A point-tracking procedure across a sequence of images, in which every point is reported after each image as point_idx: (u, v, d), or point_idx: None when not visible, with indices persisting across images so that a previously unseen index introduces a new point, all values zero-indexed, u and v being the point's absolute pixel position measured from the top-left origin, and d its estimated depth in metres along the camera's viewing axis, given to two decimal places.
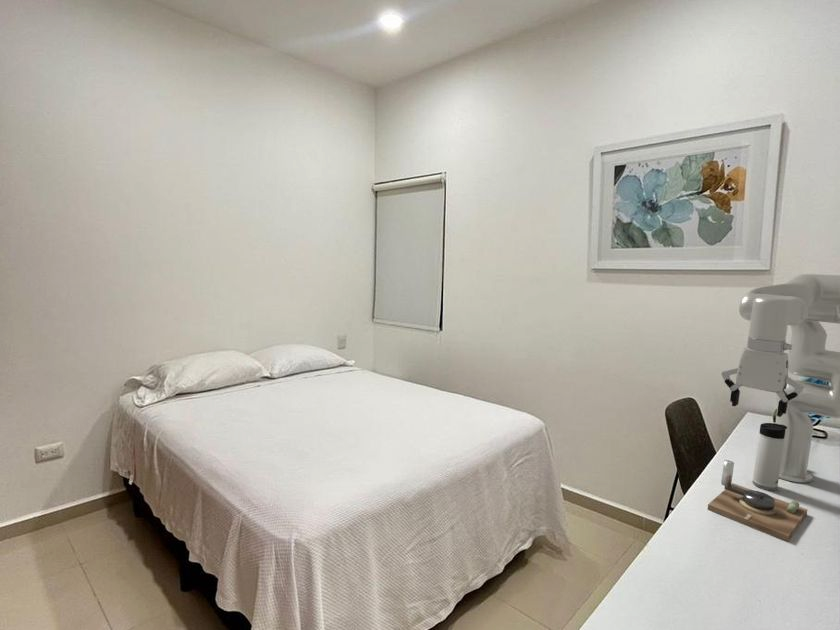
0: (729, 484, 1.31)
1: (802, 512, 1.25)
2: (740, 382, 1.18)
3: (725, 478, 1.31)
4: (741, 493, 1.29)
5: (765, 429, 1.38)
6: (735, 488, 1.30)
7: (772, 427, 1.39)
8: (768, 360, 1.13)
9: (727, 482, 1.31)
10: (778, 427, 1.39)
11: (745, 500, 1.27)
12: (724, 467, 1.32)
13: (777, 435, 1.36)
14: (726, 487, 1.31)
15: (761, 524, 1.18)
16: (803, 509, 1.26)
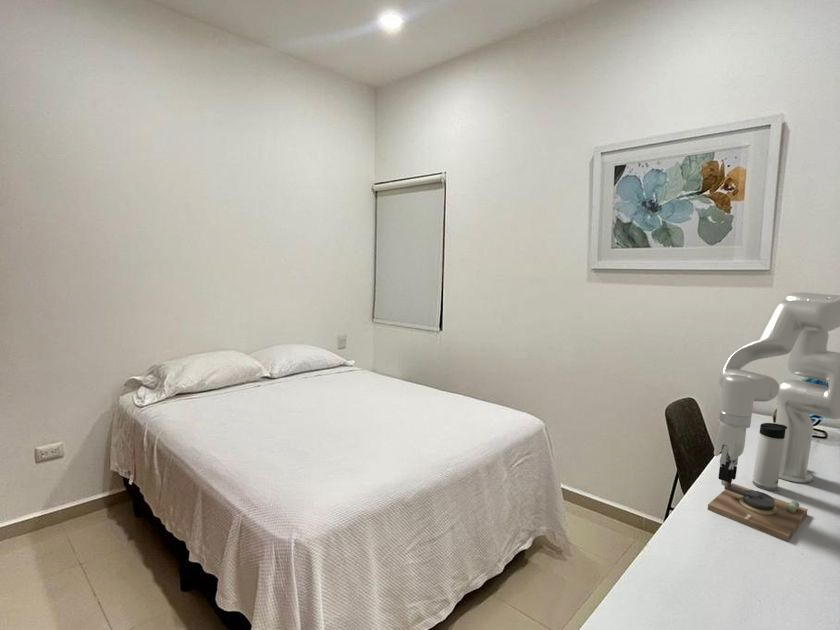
0: (729, 484, 1.31)
1: (802, 512, 1.25)
2: (733, 458, 1.27)
3: None
4: (741, 493, 1.29)
5: (765, 429, 1.38)
6: (735, 488, 1.30)
7: (772, 427, 1.39)
8: (745, 431, 1.29)
9: (727, 482, 1.31)
10: (778, 427, 1.39)
11: (745, 500, 1.27)
12: None
13: (777, 435, 1.36)
14: (726, 487, 1.31)
15: (761, 524, 1.18)
16: (803, 509, 1.26)
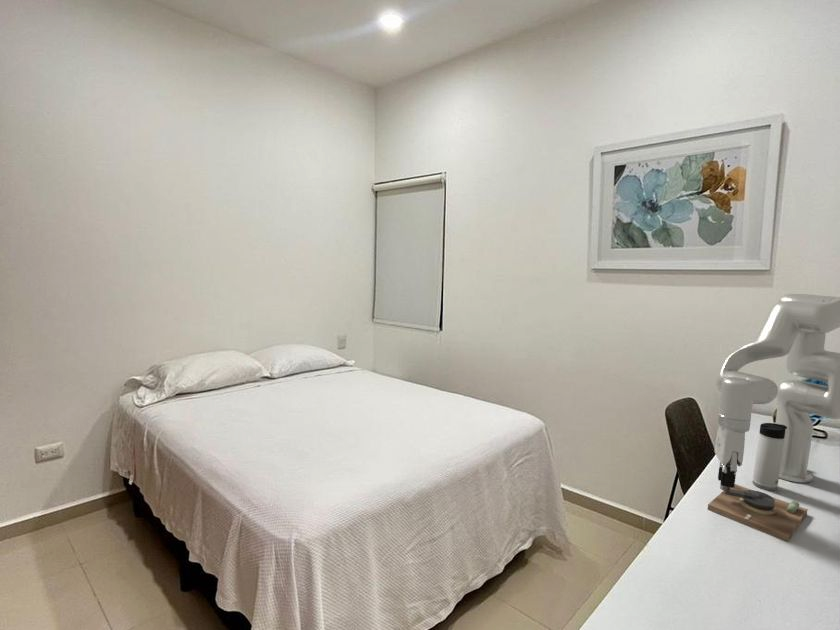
0: (729, 488, 1.29)
1: (802, 512, 1.25)
2: None
3: None
4: (742, 496, 1.27)
5: (765, 429, 1.38)
6: (735, 491, 1.28)
7: (772, 427, 1.39)
8: None
9: (728, 487, 1.28)
10: (778, 427, 1.39)
11: (750, 503, 1.25)
12: None
13: (777, 435, 1.36)
14: (727, 492, 1.29)
15: (761, 524, 1.18)
16: (803, 509, 1.26)
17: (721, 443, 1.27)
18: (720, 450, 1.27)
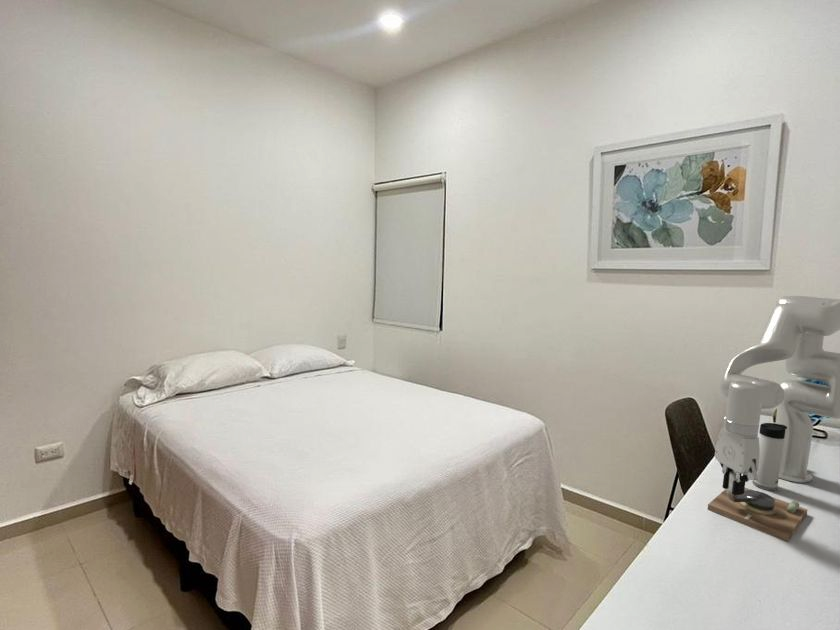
0: (737, 495, 1.25)
1: (802, 512, 1.25)
2: None
3: None
4: (748, 500, 1.25)
5: (765, 429, 1.38)
6: (740, 497, 1.26)
7: (772, 427, 1.39)
8: None
9: None
10: (778, 427, 1.39)
11: (758, 506, 1.24)
12: None
13: (777, 435, 1.36)
14: (735, 499, 1.25)
15: (761, 524, 1.18)
16: (803, 509, 1.26)
17: (736, 452, 1.21)
18: (735, 459, 1.21)
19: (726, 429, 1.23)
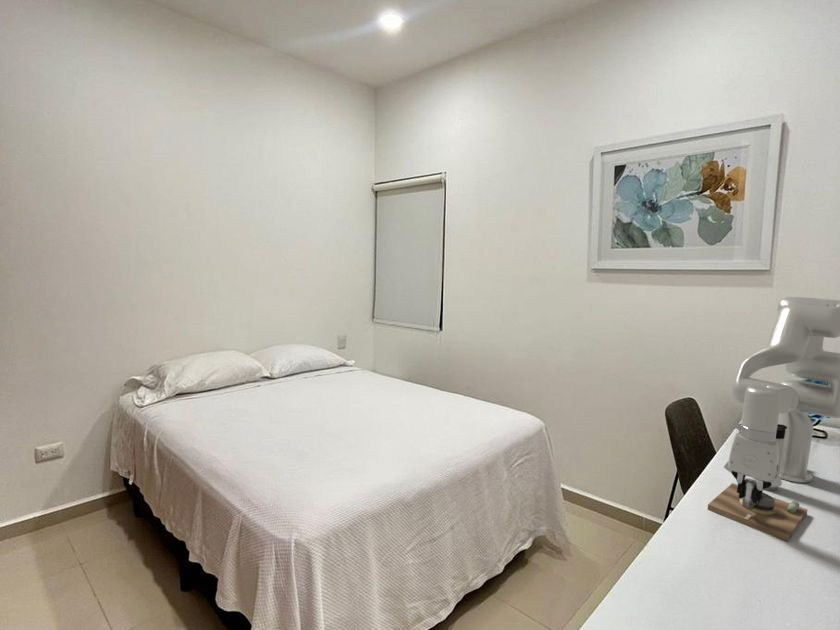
0: None
1: (802, 512, 1.25)
2: None
3: None
4: (757, 503, 1.23)
5: None
6: None
7: None
8: None
9: None
10: (778, 427, 1.39)
11: (766, 508, 1.23)
12: (753, 488, 1.20)
13: (777, 435, 1.36)
14: (752, 507, 1.21)
15: (761, 524, 1.18)
16: (803, 509, 1.26)
17: (762, 461, 1.16)
18: (761, 468, 1.16)
19: (749, 438, 1.17)
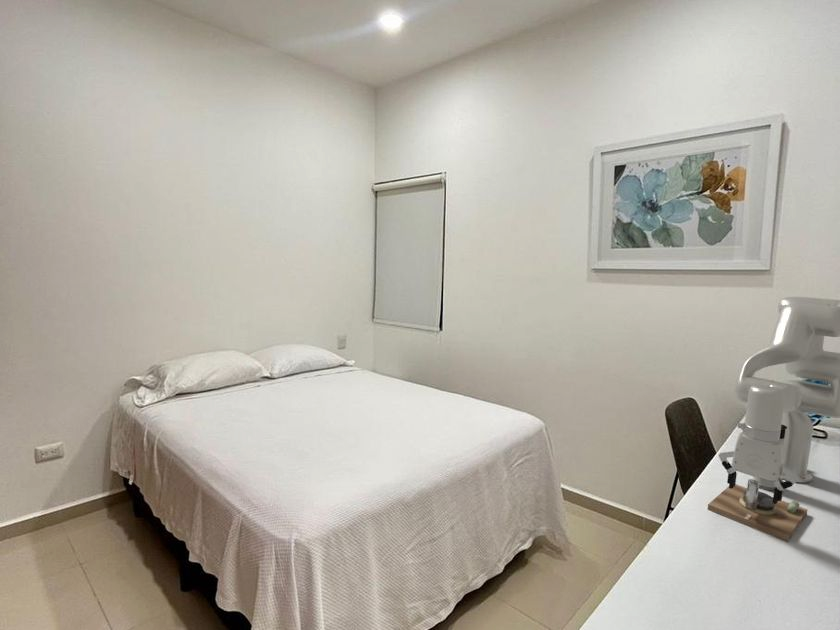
0: None
1: (802, 512, 1.25)
2: None
3: (756, 500, 1.20)
4: (759, 504, 1.23)
5: None
6: None
7: None
8: None
9: None
10: None
11: (767, 508, 1.23)
12: (756, 489, 1.19)
13: None
14: (755, 508, 1.21)
15: (761, 524, 1.18)
16: (803, 509, 1.26)
17: (767, 460, 1.15)
18: (765, 468, 1.16)
19: (753, 438, 1.17)
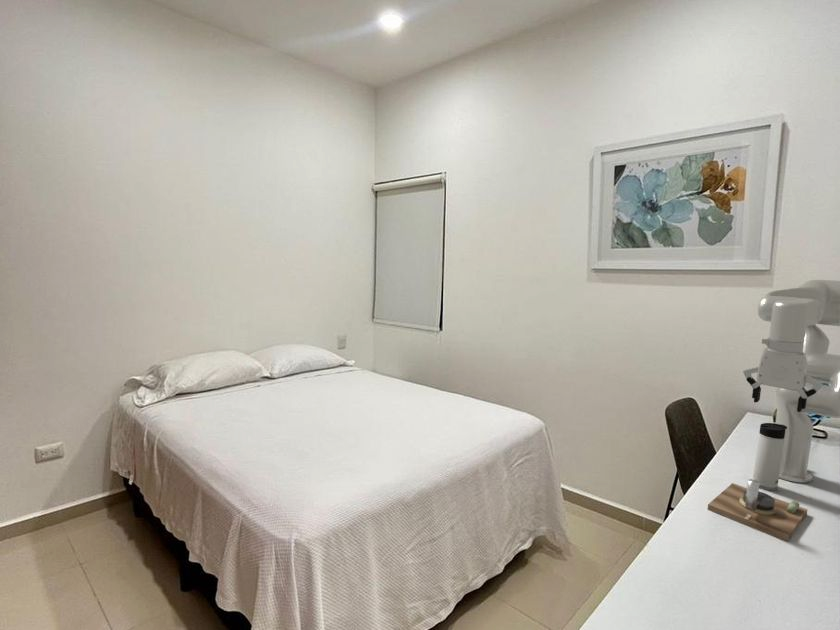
0: None
1: (802, 512, 1.25)
2: None
3: (756, 500, 1.20)
4: (759, 504, 1.23)
5: (765, 429, 1.38)
6: None
7: (772, 427, 1.39)
8: None
9: None
10: (778, 427, 1.39)
11: (767, 508, 1.23)
12: (756, 489, 1.19)
13: (777, 435, 1.36)
14: (755, 508, 1.21)
15: (761, 524, 1.18)
16: (803, 509, 1.26)
17: (791, 370, 1.21)
18: (790, 378, 1.21)
19: (778, 350, 1.22)
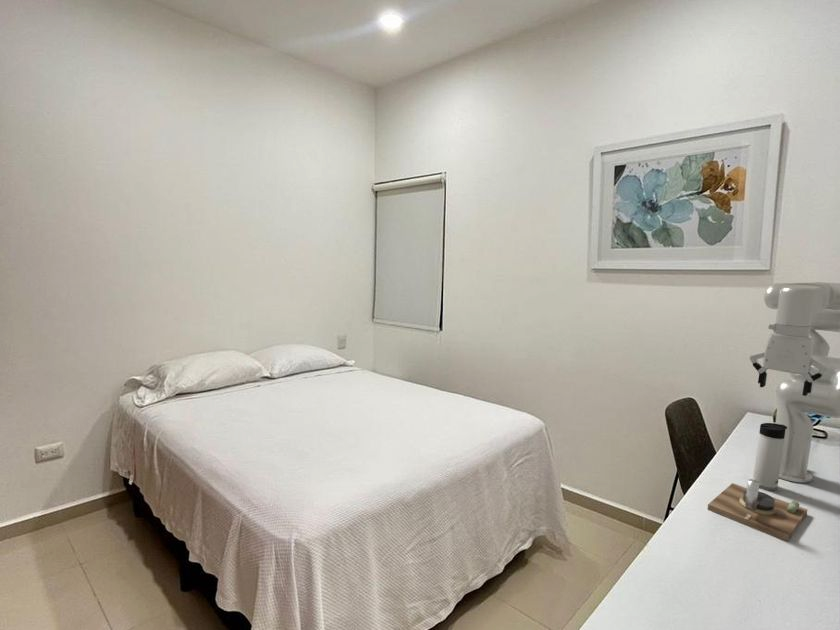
0: None
1: (802, 512, 1.25)
2: None
3: (756, 500, 1.20)
4: (759, 504, 1.23)
5: (765, 429, 1.38)
6: None
7: (772, 427, 1.39)
8: None
9: None
10: (778, 427, 1.39)
11: (767, 508, 1.23)
12: (756, 489, 1.19)
13: (777, 435, 1.36)
14: (755, 508, 1.21)
15: (761, 524, 1.18)
16: (803, 509, 1.26)
17: (797, 354, 1.23)
18: (796, 362, 1.24)
19: (784, 334, 1.25)
